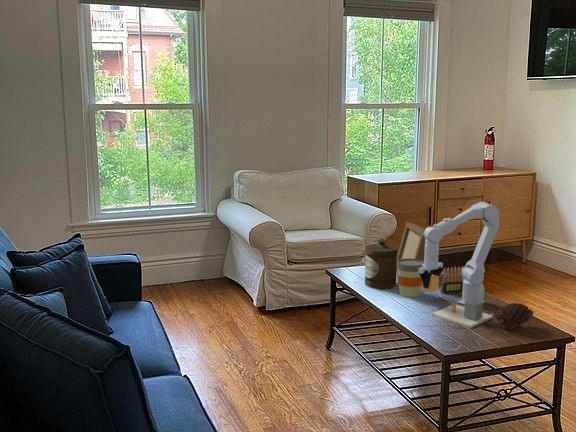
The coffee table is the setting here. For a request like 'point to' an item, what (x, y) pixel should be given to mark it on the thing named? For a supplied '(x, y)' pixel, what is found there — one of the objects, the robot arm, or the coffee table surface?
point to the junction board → (460, 316)
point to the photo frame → (412, 243)
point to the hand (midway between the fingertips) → (429, 286)
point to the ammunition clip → (452, 281)
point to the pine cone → (513, 315)
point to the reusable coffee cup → (409, 277)
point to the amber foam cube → (432, 284)
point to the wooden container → (381, 265)
